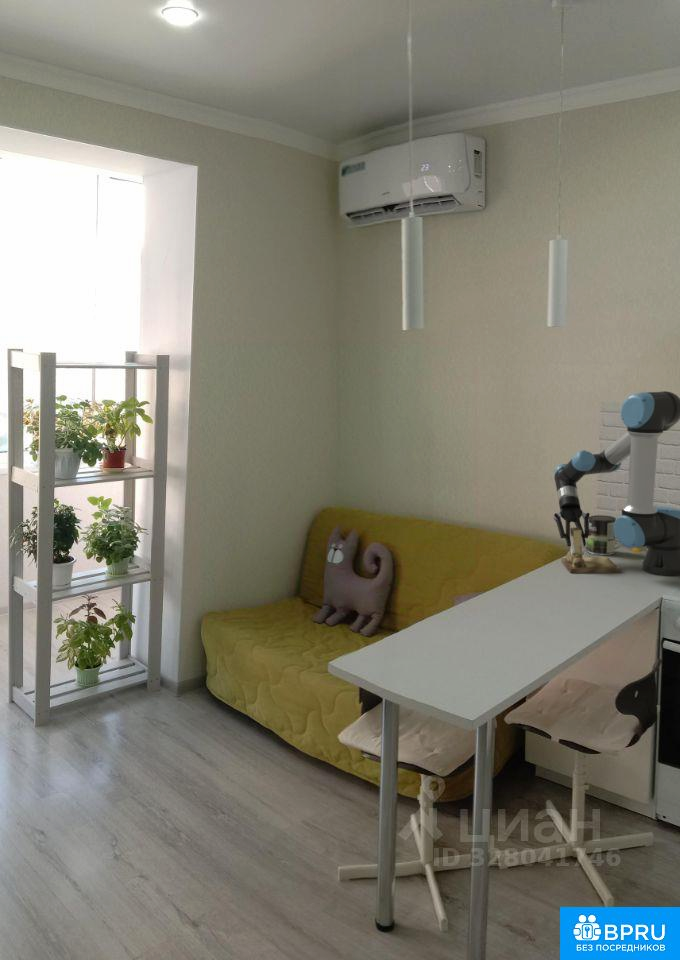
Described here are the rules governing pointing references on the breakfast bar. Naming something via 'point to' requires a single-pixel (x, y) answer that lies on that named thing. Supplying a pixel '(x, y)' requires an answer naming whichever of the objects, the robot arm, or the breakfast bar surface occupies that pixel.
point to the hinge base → (590, 565)
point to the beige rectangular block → (576, 543)
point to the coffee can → (601, 535)
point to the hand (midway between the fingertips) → (578, 553)
